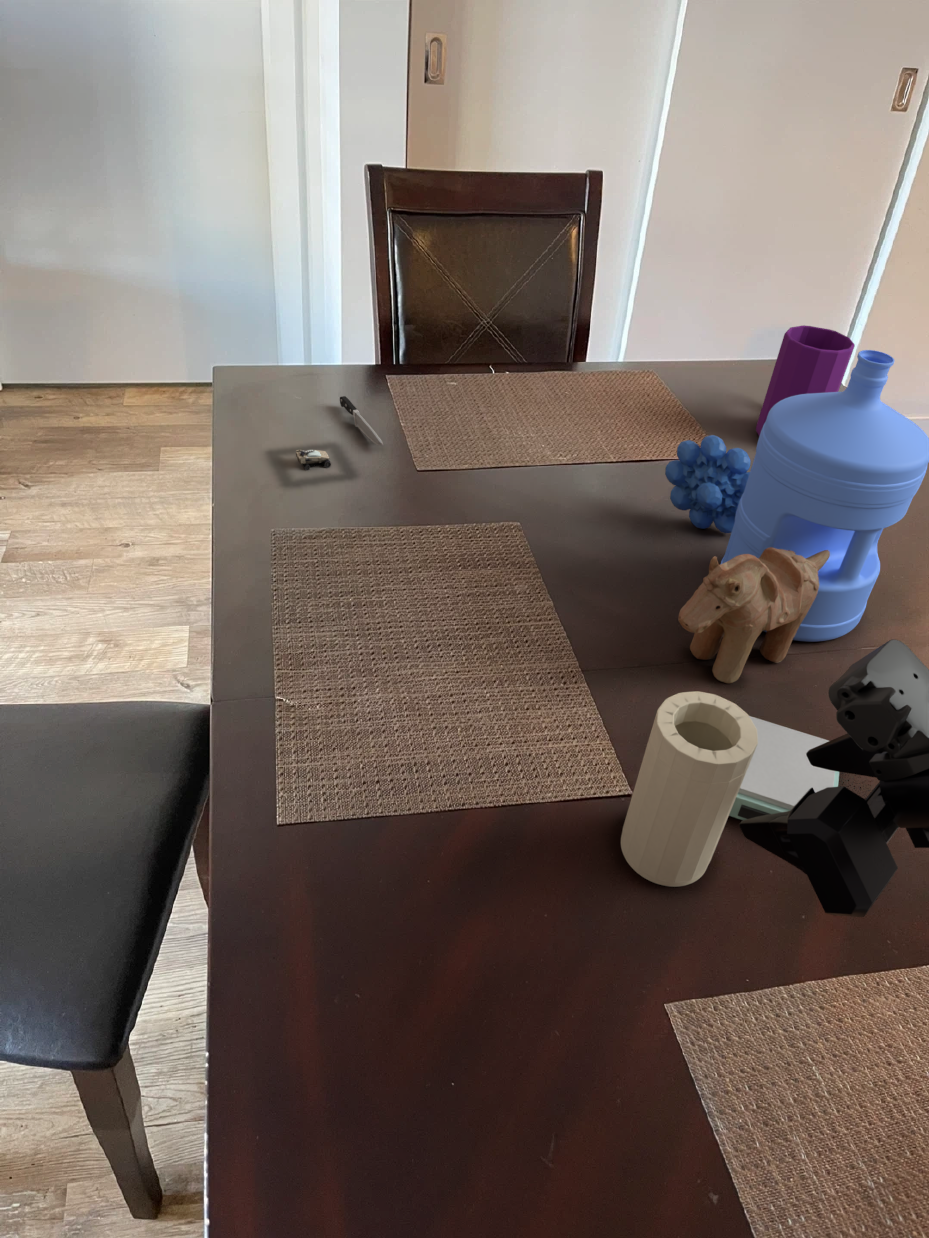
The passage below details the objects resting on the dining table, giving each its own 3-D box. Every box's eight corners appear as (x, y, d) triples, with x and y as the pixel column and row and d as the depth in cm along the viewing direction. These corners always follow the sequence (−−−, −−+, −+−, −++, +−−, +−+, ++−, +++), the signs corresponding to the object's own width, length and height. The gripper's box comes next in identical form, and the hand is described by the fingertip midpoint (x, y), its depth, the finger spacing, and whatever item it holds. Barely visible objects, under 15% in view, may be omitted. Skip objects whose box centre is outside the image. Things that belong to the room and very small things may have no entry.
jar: (721, 842, 73) (771, 720, 64) (687, 902, 69) (735, 779, 60) (643, 800, 76) (681, 677, 67) (605, 855, 71) (640, 731, 63)
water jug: (687, 570, 103) (754, 330, 85) (800, 550, 108) (885, 319, 90) (768, 658, 92) (865, 403, 74) (890, 631, 97) (1007, 385, 79)
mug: (753, 446, 128) (785, 344, 119) (755, 401, 140) (784, 305, 131) (820, 459, 127) (857, 356, 117) (816, 413, 139) (850, 316, 129)
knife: (385, 455, 118) (386, 441, 117) (380, 456, 118) (380, 442, 117) (344, 407, 128) (344, 394, 127) (339, 408, 128) (339, 394, 127)
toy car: (331, 467, 115) (331, 453, 114) (299, 471, 114) (299, 457, 112) (325, 457, 117) (325, 443, 115) (294, 461, 115) (293, 447, 114)
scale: (824, 850, 73) (836, 827, 72) (701, 808, 76) (710, 785, 74) (832, 764, 81) (844, 741, 79) (721, 729, 83) (729, 705, 82)
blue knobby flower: (645, 532, 109) (667, 442, 101) (658, 505, 114) (680, 418, 106) (743, 559, 106) (772, 468, 98) (751, 530, 111) (780, 442, 103)
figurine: (636, 669, 89) (670, 543, 80) (761, 619, 97) (805, 498, 88) (687, 717, 84) (729, 588, 75) (814, 660, 92) (866, 537, 83)
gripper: (1018, 577, 54) (793, 629, 66) (885, 728, 43) (646, 756, 55) (1091, 741, 55) (856, 762, 67) (980, 931, 44) (724, 914, 56)
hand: (777, 792), depth 61 cm, fingers open, 9 cm apart
